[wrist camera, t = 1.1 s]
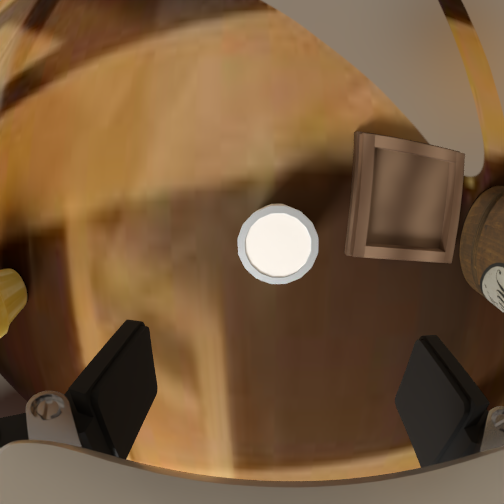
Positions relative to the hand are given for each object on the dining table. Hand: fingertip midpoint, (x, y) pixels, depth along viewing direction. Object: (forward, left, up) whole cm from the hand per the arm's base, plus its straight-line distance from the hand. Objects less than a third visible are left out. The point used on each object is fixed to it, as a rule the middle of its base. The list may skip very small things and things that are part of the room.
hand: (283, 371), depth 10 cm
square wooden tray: (-14, -5, -24) cm, 28 cm away
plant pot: (+40, +11, -24) cm, 48 cm away
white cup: (0, 0, -24) cm, 24 cm away
